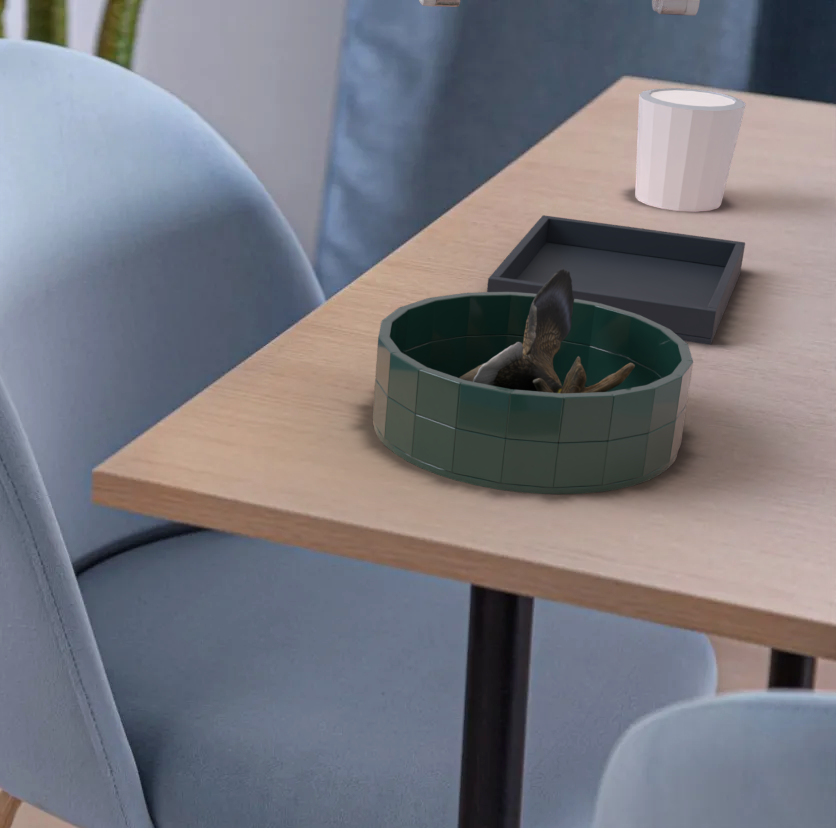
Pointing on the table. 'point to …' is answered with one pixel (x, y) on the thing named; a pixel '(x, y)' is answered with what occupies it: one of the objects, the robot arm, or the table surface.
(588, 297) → the tray
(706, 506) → the table surface
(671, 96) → the white cup
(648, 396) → the pot
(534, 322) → the eagle figurine
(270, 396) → the table surface
